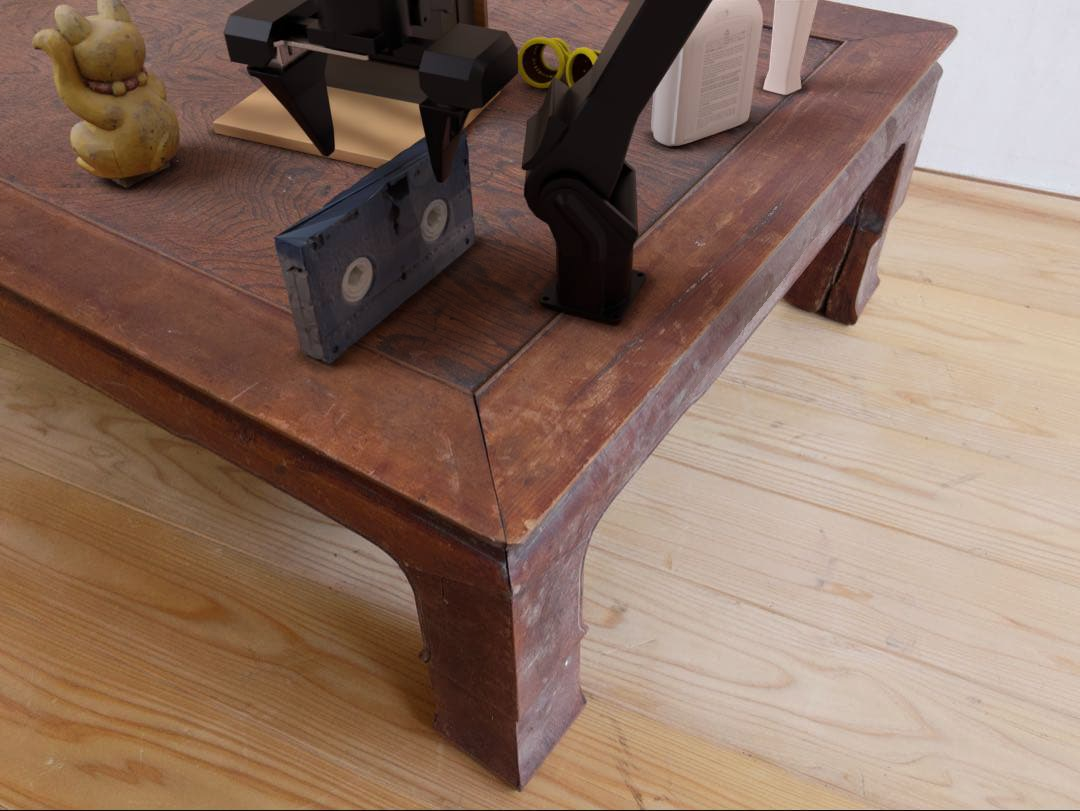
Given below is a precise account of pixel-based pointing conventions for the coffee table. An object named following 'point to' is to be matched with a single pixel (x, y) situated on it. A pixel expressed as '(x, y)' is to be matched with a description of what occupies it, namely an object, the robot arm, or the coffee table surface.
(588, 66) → the yellow hollow cylinder
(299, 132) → the tape rack
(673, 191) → the coffee table surface
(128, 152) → the decorative figurine
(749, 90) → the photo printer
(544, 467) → the coffee table surface
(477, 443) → the coffee table surface
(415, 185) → the vhs cassette tape
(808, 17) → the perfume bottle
